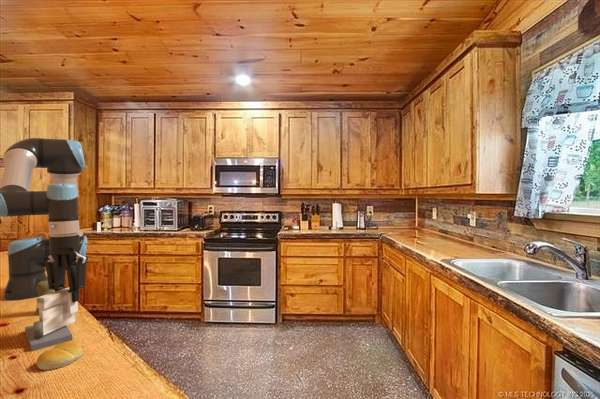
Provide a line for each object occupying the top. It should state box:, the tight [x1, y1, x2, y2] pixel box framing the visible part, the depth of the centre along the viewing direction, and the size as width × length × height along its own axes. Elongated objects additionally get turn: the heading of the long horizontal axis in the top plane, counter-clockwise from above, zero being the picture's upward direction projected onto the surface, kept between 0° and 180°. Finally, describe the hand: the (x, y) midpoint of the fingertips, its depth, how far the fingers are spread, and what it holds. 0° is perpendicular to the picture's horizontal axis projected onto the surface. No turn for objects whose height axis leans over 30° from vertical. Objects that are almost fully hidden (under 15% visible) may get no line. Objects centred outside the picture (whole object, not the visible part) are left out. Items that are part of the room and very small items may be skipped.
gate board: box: [24, 324, 73, 352], centre depth 95 cm, size 17×9×2 cm, turn 44°
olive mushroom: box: [35, 280, 54, 316], centre depth 114 cm, size 6×6×11 cm
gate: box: [33, 286, 76, 338], centre depth 95 cm, size 12×3×10 cm, turn 167°
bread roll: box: [36, 341, 84, 371], centre depth 81 cm, size 8×9×4 cm
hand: (68, 312), depth 99 cm, fingers closed on gate, 3 cm apart
